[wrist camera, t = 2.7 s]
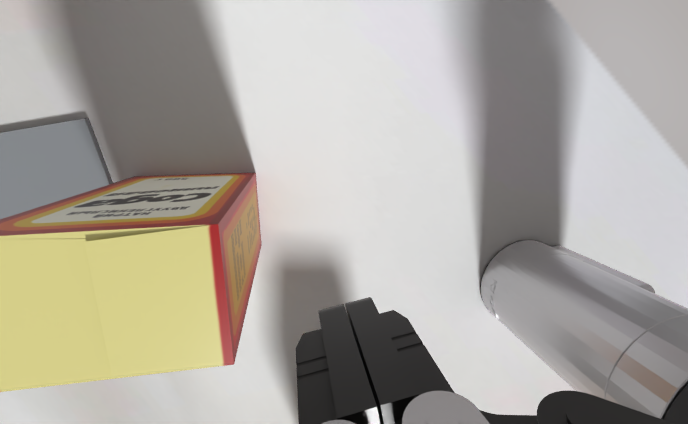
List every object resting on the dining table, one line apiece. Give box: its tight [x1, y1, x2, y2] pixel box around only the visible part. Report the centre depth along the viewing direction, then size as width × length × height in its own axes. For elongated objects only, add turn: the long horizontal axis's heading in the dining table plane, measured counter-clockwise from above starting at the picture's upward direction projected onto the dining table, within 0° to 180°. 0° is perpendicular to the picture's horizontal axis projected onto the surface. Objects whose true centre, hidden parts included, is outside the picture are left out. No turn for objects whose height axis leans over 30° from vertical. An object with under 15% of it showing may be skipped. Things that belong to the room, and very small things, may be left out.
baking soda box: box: [0, 173, 261, 392], centre depth 21 cm, size 10×6×16 cm
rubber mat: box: [0, 118, 113, 219], centre depth 26 cm, size 16×18×1 cm
